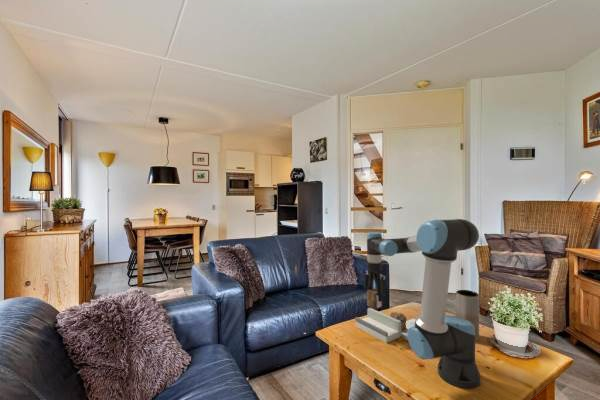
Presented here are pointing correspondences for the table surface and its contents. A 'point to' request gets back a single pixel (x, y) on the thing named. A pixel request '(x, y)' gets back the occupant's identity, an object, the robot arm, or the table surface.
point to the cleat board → (379, 325)
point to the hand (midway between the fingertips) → (374, 305)
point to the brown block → (372, 298)
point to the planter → (468, 308)
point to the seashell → (399, 318)
